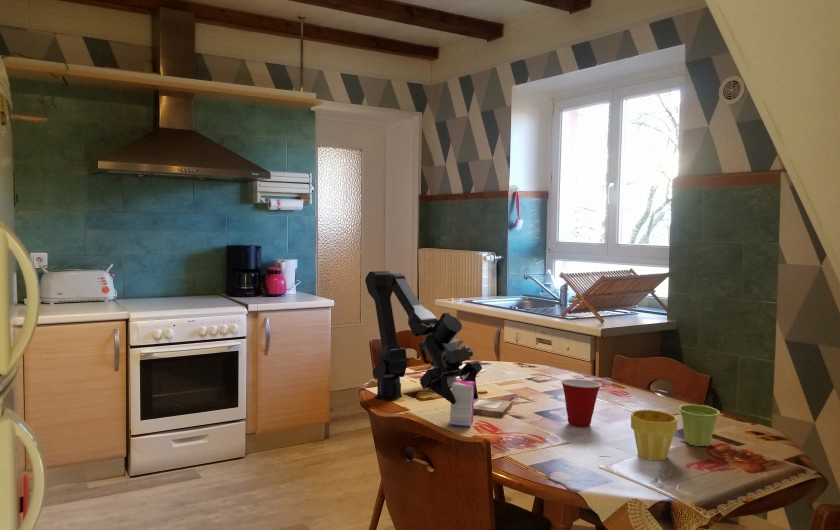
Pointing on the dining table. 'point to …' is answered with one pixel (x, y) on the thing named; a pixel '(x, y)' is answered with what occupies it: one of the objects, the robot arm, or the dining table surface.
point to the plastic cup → (580, 400)
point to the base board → (491, 407)
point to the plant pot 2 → (698, 424)
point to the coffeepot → (452, 346)
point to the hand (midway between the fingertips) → (465, 401)
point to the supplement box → (462, 403)
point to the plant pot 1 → (653, 433)
